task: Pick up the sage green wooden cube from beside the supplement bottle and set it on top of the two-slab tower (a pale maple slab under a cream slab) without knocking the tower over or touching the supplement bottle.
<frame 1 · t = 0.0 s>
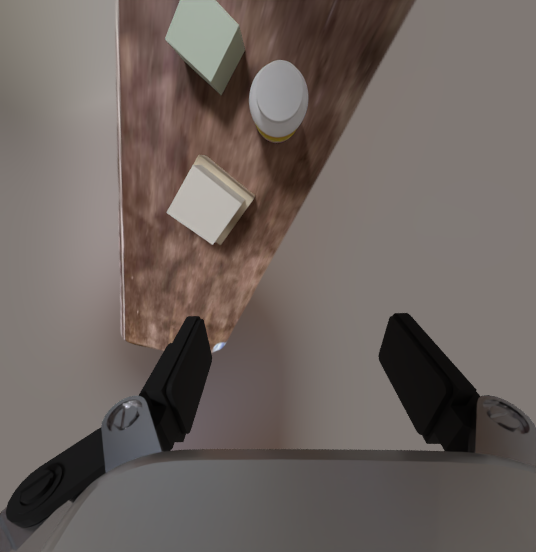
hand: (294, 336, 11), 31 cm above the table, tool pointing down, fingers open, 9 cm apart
supplement bottle: (277, 117, 32), on the table
stack block: (214, 55, 29), on the table
tower top block: (210, 203, 35), point 3 cm above the table, touching tower base block
tower base block: (216, 200, 38), on the table, touching tower top block
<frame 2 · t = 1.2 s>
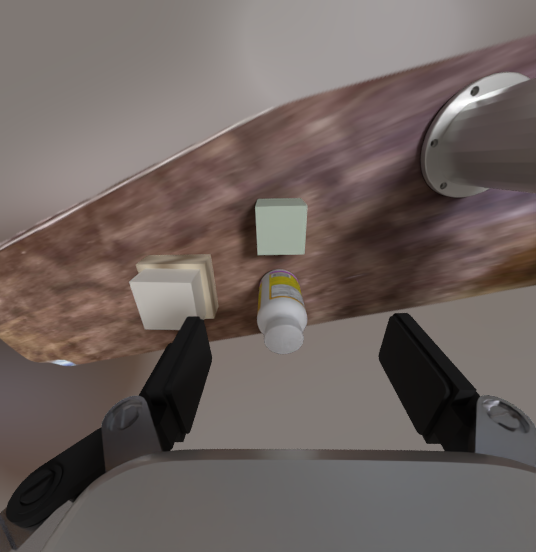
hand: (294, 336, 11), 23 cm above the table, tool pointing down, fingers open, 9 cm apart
supplement bottle: (279, 284, 37), on the table
stack block: (279, 220, 31), on the table
tower top block: (177, 292, 33), point 3 cm above the table
tower base block: (186, 280, 37), on the table
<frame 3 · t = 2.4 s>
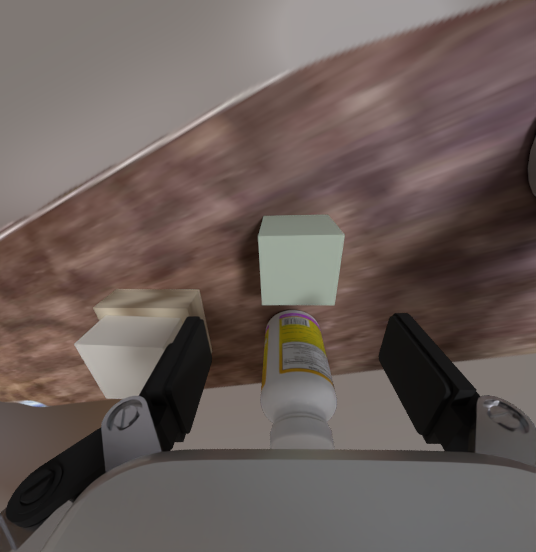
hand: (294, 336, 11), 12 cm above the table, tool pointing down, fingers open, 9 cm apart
supplement bottle: (292, 327, 27), on the table
stack block: (294, 245, 22), on the table
tower top block: (152, 344, 24), point 4 cm above the table
tower base block: (169, 320, 28), on the table
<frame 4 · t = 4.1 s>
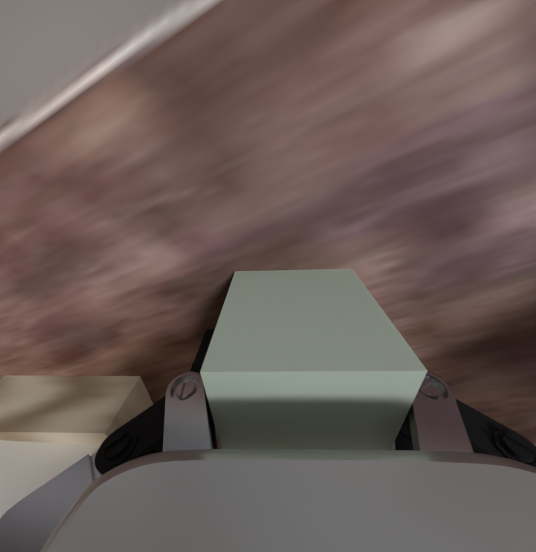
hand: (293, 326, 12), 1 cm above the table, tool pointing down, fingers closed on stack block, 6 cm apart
stack block: (292, 316, 12), on the table, touching gripper
tower top block: (57, 472, 15), point 4 cm above the table, touching tower base block
tower base block: (102, 411, 18), on the table, touching tower top block
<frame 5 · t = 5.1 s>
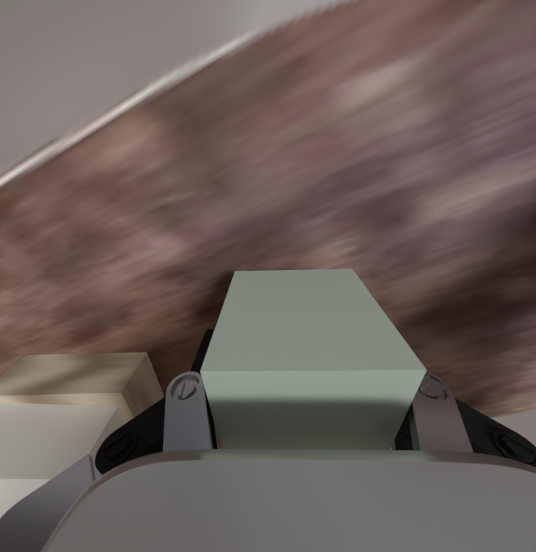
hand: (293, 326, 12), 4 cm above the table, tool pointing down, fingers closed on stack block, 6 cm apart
stack block: (292, 316, 12), point 3 cm above the table, touching gripper
tower top block: (78, 435, 17), point 4 cm above the table
tower base block: (111, 387, 20), on the table
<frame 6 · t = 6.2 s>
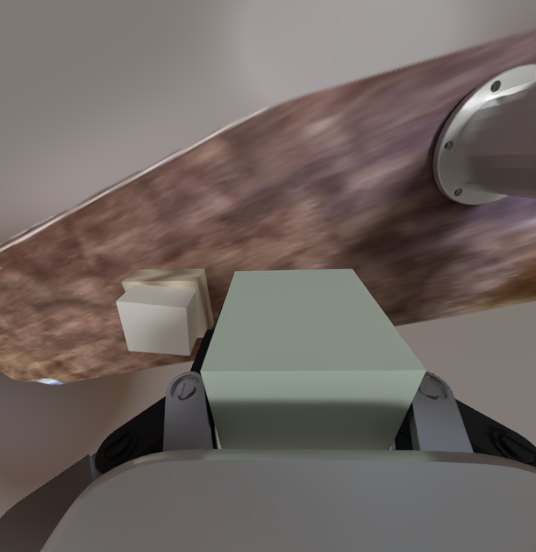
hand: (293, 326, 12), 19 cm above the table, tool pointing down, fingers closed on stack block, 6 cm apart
stack block: (292, 316, 12), point 18 cm above the table, touching gripper
tower top block: (168, 311, 30), point 4 cm above the table, touching tower base block
tower base block: (178, 296, 34), on the table, touching tower top block
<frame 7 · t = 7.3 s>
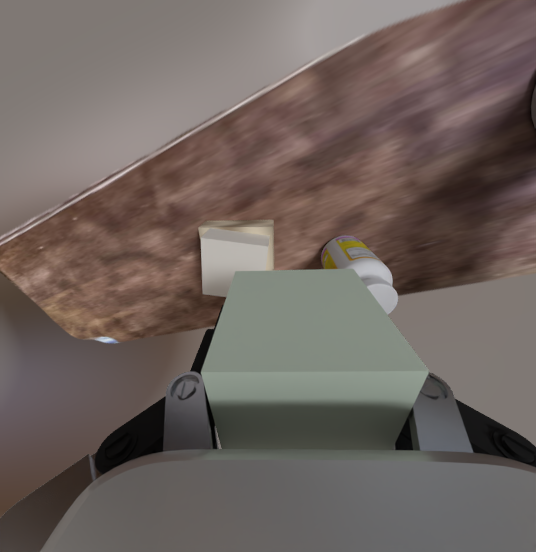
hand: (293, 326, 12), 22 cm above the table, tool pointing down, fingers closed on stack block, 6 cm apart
supplement bottle: (341, 254, 33), on the table
stack block: (292, 316, 12), point 21 cm above the table, touching gripper
tower top block: (238, 258, 31), point 4 cm above the table
tower base block: (242, 250, 34), on the table
when the fingers open (10 cm above the table, at t = 10.3 s): stack block drops 1 cm, resting on tower top block.
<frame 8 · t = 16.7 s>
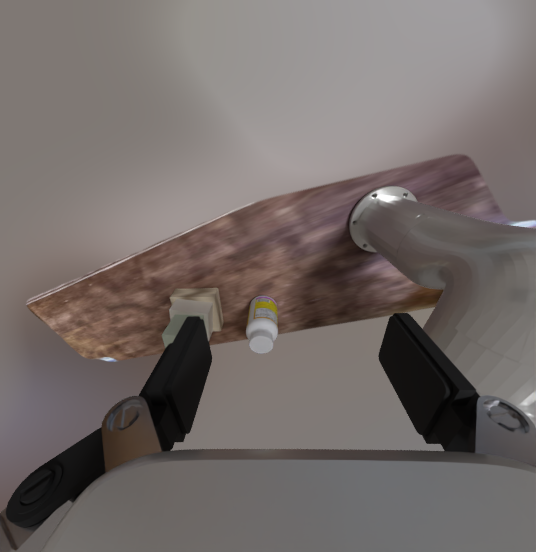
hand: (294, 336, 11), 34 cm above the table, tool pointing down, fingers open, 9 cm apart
supplement bottle: (263, 305, 52), on the table
stack block: (191, 326, 46), point 8 cm above the table, touching tower top block
tower top block: (195, 314, 49), point 4 cm above the table, touching stack block, tower base block
tower base block: (201, 304, 53), on the table, touching tower top block
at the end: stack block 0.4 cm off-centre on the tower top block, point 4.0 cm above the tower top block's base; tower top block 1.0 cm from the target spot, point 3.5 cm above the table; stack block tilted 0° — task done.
